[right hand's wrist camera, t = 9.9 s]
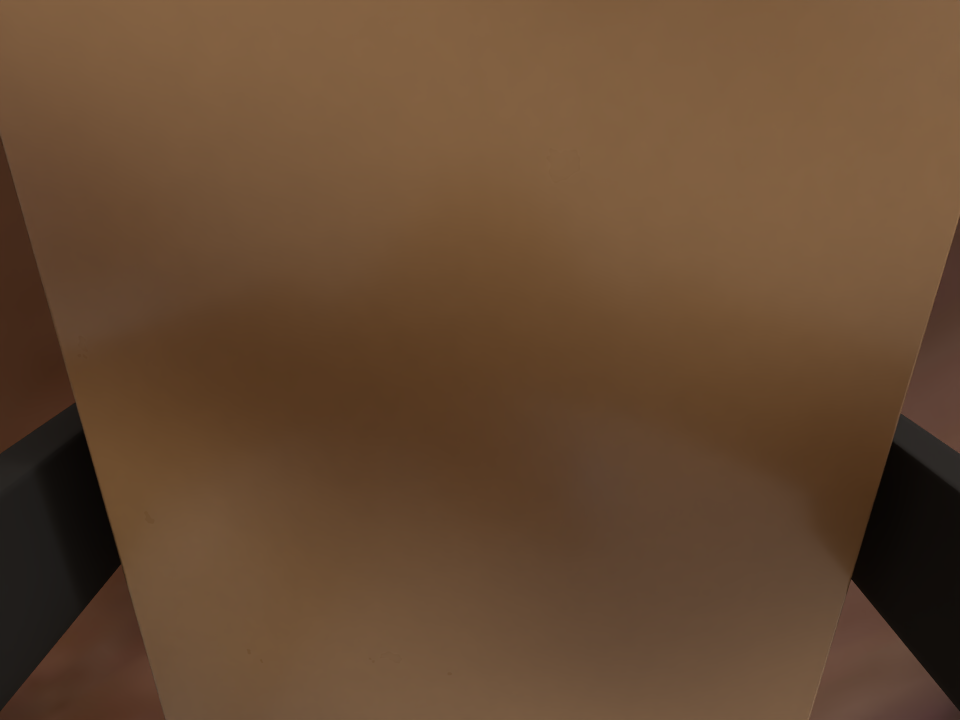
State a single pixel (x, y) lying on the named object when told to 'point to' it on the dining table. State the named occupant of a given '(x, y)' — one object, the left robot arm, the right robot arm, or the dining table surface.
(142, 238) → the wooden block
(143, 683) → the dining table surface
